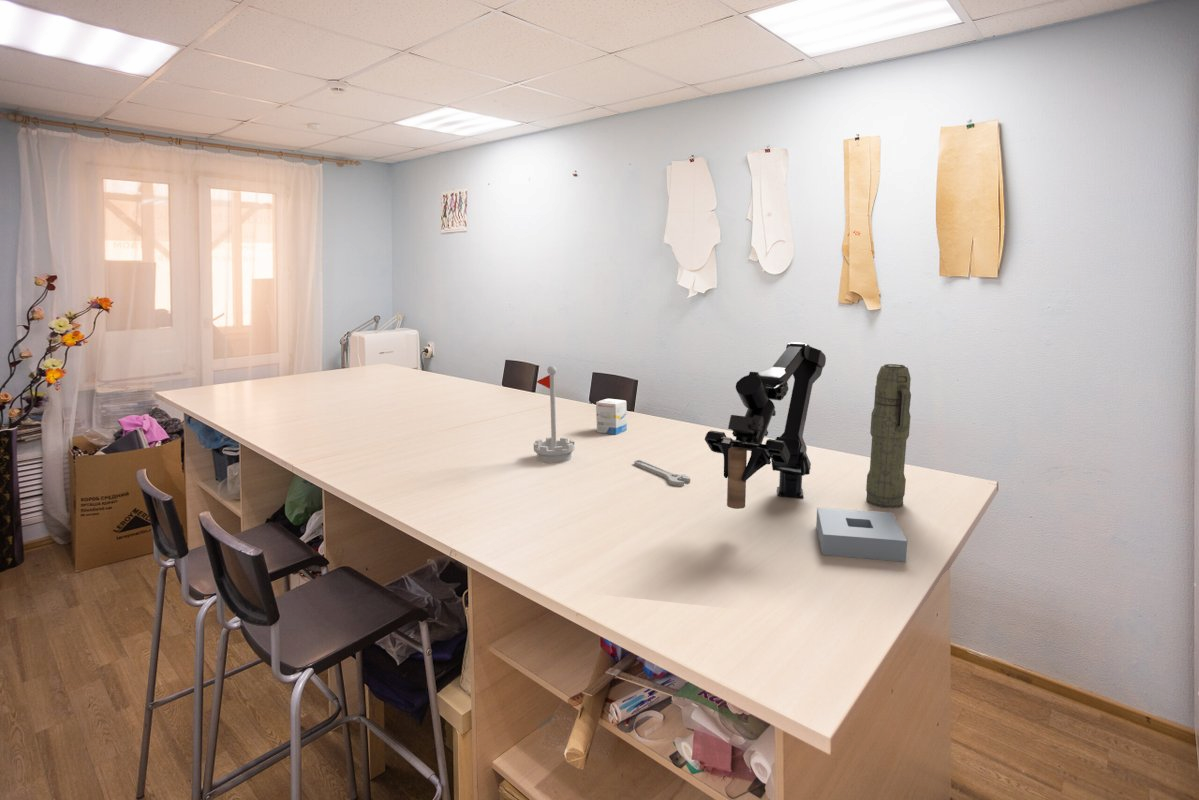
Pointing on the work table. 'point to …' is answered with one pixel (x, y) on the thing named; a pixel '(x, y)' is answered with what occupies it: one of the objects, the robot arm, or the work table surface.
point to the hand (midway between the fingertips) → (734, 478)
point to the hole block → (860, 534)
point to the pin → (736, 477)
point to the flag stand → (553, 430)
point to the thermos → (889, 437)
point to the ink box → (611, 416)
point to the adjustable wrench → (664, 473)
